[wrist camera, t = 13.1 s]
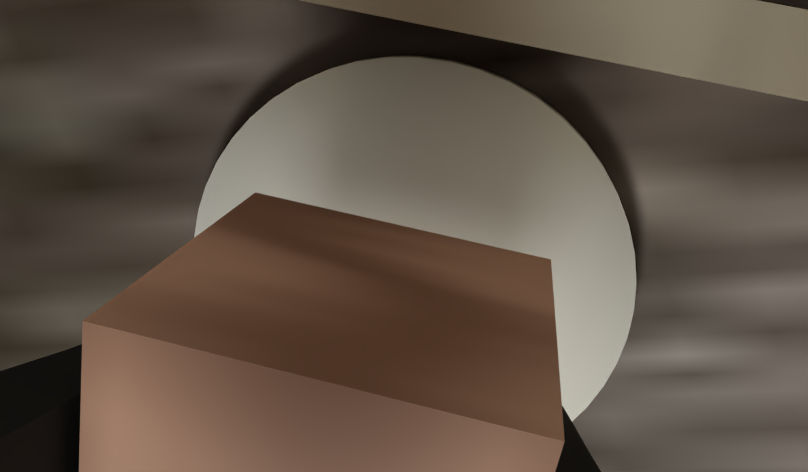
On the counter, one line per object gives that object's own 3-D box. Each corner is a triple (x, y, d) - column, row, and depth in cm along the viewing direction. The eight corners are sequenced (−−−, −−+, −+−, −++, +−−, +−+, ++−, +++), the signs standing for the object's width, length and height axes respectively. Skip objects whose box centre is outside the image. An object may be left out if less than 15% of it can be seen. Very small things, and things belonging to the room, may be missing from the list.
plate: (189, 405, 19) (179, 417, 18) (223, 13, 16) (212, 14, 15) (567, 501, 18) (568, 517, 18) (693, 108, 15) (700, 113, 14)
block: (227, 438, 14) (74, 667, 9) (255, 191, 12) (83, 320, 7) (484, 505, 13) (459, 782, 9) (550, 259, 12) (564, 441, 7)
